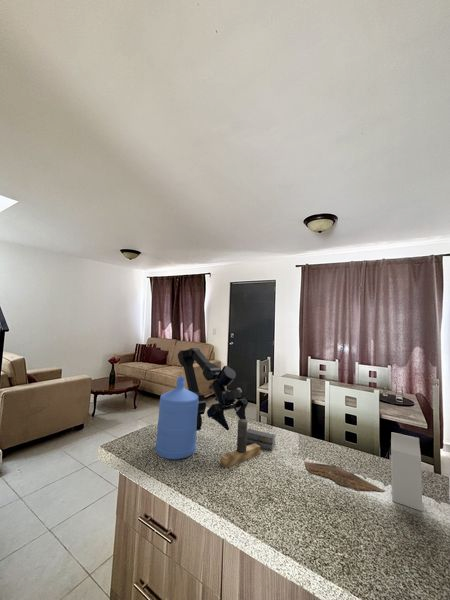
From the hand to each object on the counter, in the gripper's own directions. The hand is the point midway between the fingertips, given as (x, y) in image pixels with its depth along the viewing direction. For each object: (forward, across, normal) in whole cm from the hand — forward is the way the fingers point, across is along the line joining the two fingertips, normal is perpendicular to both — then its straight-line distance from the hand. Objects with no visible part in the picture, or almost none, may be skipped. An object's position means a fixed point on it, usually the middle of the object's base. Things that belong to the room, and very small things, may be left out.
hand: (237, 427), depth 99 cm
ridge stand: (+6, +15, +8) cm, 18 cm away
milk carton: (+42, +27, -27) cm, 57 cm away
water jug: (-4, -18, +19) cm, 26 cm away
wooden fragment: (+30, +22, -14) cm, 39 cm away
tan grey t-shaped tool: (+10, 0, +5) cm, 11 cm away
